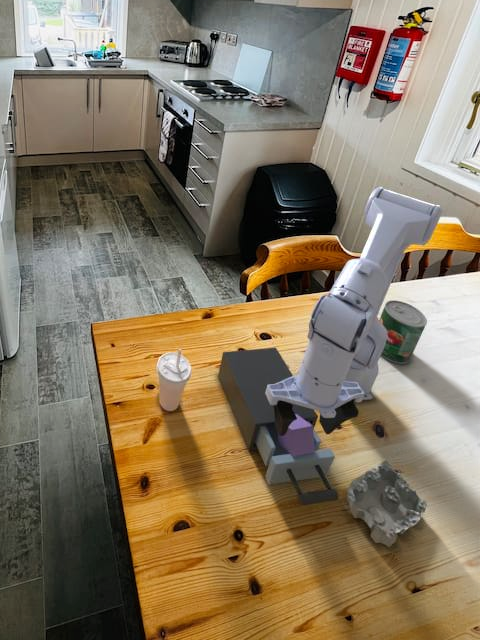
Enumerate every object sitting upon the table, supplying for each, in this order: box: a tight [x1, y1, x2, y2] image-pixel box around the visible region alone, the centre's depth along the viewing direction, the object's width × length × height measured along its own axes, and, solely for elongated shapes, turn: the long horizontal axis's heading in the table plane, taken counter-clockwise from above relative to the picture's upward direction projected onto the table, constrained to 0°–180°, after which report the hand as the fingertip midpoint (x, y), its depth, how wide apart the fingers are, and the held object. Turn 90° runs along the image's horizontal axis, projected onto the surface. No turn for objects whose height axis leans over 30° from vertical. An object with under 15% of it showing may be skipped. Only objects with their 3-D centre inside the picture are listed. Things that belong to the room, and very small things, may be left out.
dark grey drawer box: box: [217, 347, 319, 451], centre depth 75 cm, size 15×12×7 cm
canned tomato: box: [378, 299, 428, 365], centre depth 89 cm, size 8×8×11 cm
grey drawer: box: [255, 421, 340, 507], centre depth 67 cm, size 18×10×5 cm, turn 8°
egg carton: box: [346, 459, 428, 548], centre depth 61 cm, size 11×8×4 cm
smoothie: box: [156, 348, 192, 412], centre depth 74 cm, size 6×6×14 cm
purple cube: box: [277, 414, 315, 457], centre depth 65 cm, size 4×4×4 cm
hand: (301, 428), depth 63 cm, fingers open, 7 cm apart
